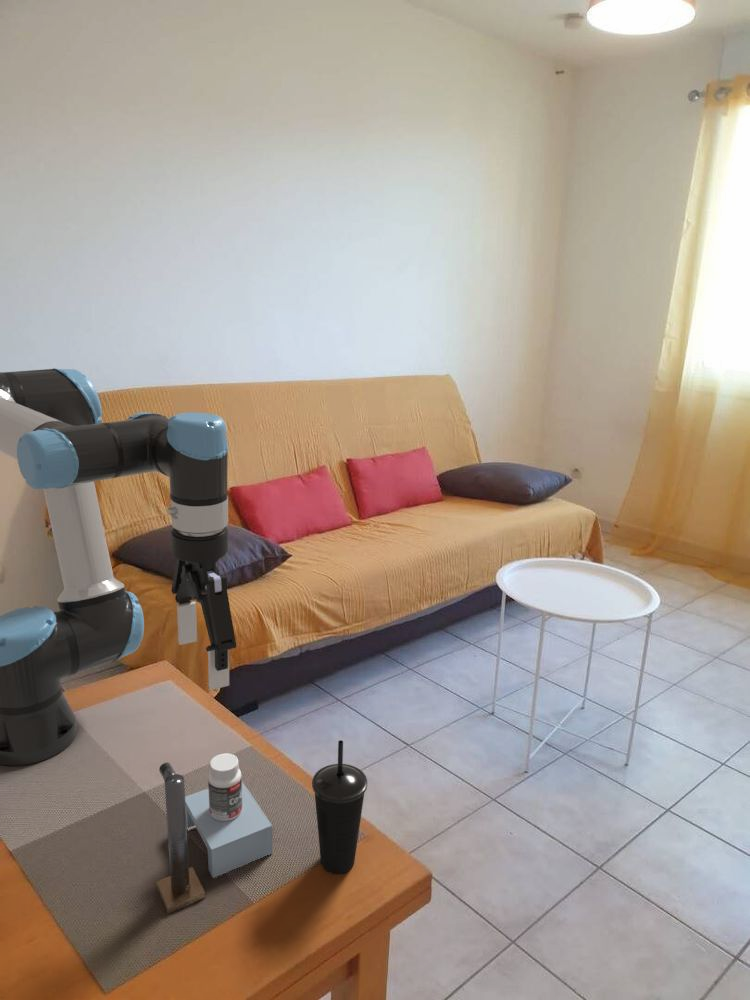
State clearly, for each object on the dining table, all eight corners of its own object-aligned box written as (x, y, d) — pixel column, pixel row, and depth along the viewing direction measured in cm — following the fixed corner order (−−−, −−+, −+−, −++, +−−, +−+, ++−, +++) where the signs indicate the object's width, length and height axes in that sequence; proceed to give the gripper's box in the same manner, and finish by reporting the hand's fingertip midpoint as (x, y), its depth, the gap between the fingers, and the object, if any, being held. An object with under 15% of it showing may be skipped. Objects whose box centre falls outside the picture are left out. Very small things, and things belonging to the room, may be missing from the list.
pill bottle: (235, 824, 102) (233, 775, 100) (204, 819, 103) (201, 769, 101) (247, 802, 107) (246, 754, 104) (217, 797, 108) (215, 749, 105)
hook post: (153, 879, 99) (145, 769, 93) (189, 865, 101) (183, 756, 96) (168, 913, 94) (160, 798, 88) (205, 897, 96) (200, 785, 91)
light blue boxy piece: (184, 824, 109) (183, 797, 107) (240, 804, 113) (239, 777, 112) (212, 879, 99) (211, 849, 98) (272, 853, 104) (272, 825, 102)
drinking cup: (363, 883, 99) (368, 760, 93) (308, 881, 99) (309, 758, 94) (365, 842, 107) (369, 726, 101) (313, 840, 107) (315, 724, 101)
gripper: (147, 503, 106) (152, 631, 113) (203, 565, 86) (206, 715, 93) (196, 497, 110) (199, 621, 117) (261, 555, 90) (260, 700, 97)
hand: (202, 663), depth 105 cm, fingers open, 13 cm apart
